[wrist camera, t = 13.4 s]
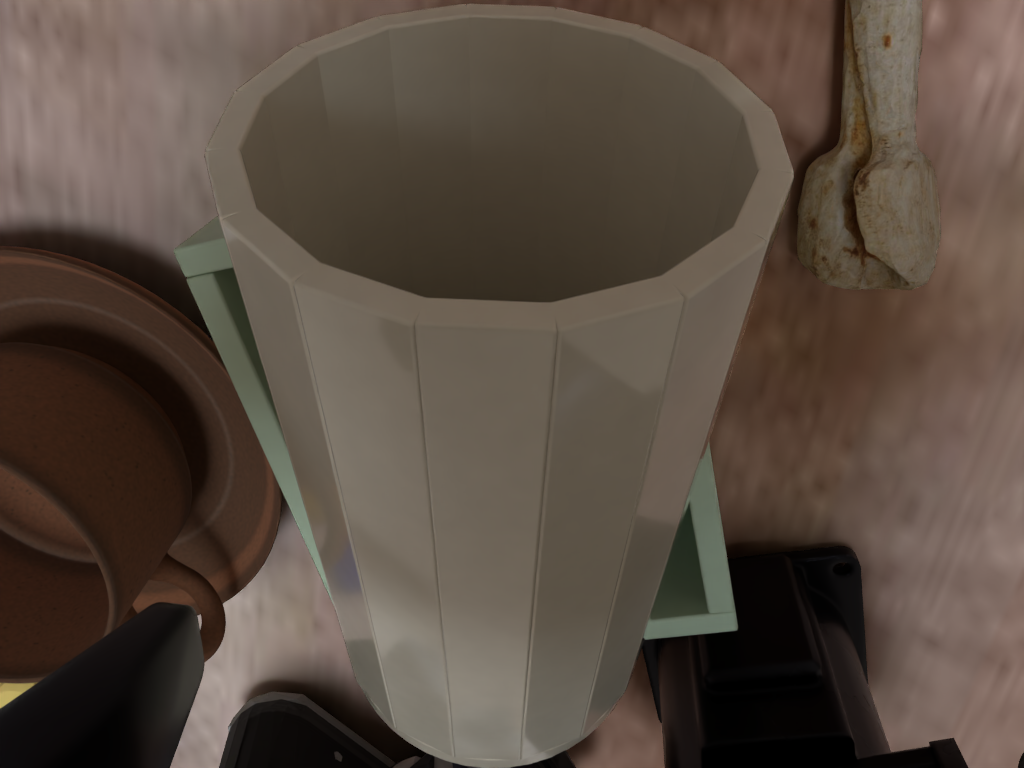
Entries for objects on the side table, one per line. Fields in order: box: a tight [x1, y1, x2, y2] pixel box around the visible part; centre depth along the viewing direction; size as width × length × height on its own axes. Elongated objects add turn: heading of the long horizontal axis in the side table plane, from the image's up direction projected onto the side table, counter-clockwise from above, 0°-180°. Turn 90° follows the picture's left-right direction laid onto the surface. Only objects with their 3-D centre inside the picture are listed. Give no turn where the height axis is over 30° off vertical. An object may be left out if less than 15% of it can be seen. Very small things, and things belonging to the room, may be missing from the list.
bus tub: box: [174, 216, 738, 640], centre depth 19 cm, size 11×9×5 cm
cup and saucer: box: [0, 246, 283, 684], centre depth 21 cm, size 12×12×6 cm
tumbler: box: [204, 4, 794, 768], centre depth 14 cm, size 7×7×12 cm
